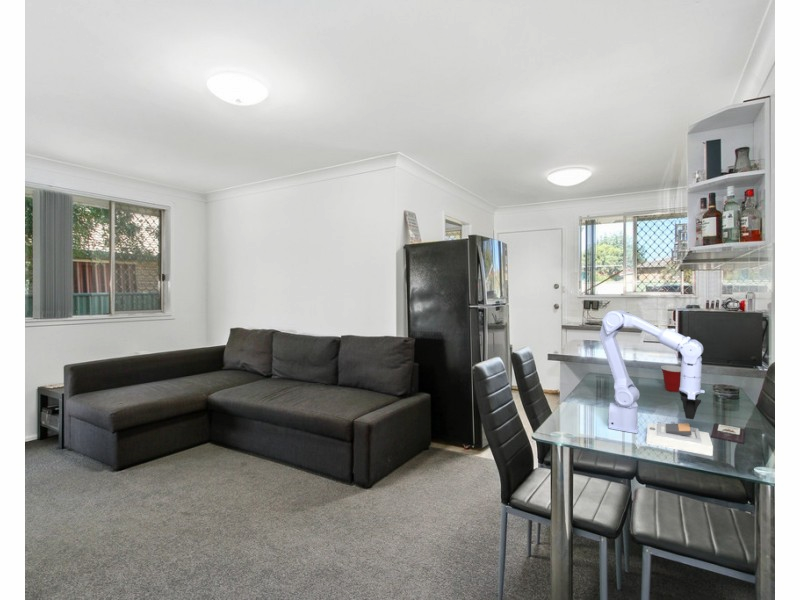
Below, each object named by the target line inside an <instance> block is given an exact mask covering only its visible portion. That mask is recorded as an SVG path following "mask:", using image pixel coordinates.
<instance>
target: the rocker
mask: <svg viewBox="0 0 800 600" xmlns="http://www.w3.org/2000/svg"><path fill="white" fill-rule="evenodd" d="M690 427H691V425H690V423H688V422H687V423H683V422H682V423H669V424H666V433H669V434H675V435H680V436H681V435H692V434H691V429H690Z"/></svg>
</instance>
